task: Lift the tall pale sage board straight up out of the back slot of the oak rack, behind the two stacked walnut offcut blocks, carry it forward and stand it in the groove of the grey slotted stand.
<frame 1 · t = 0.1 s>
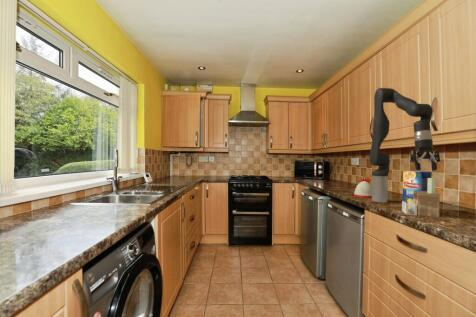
hand: (426, 170, 124), 23 cm above the countertop, tool pointing down, fingers open, 8 cm apart
oak rack: (425, 216, 119), on the countertop
grey stand: (409, 214, 122), on the countertop
sage board: (430, 214, 118), point 1 cm above the countertop, touching oak rack
beverage box: (416, 211, 130), on the countertop
kitchen timer: (364, 197, 181), on the countertop
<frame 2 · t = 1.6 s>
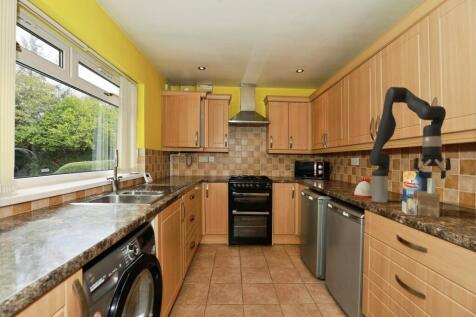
hand: (431, 178, 118), 19 cm above the countertop, tool pointing down, fingers open, 8 cm apart
nothing on the countertop moved.
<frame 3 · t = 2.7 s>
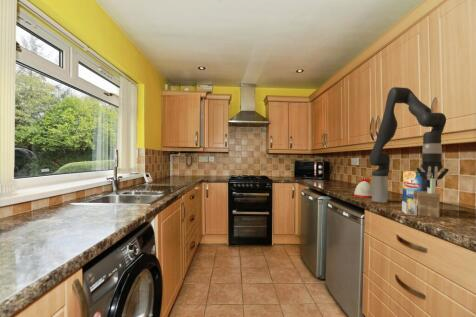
hand: (431, 187, 118), 15 cm above the countertop, tool pointing down, fingers closed on sage board, 1 cm apart
sage board: (431, 214, 118), point 1 cm above the countertop, touching gripper, oak rack
everything else where it was.
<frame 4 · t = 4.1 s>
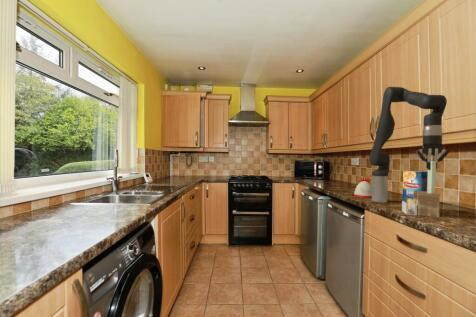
hand: (431, 169, 118), 23 cm above the countertop, tool pointing down, fingers closed on sage board, 1 cm apart
sage board: (430, 197, 118), point 10 cm above the countertop, touching gripper
everything else where it was.
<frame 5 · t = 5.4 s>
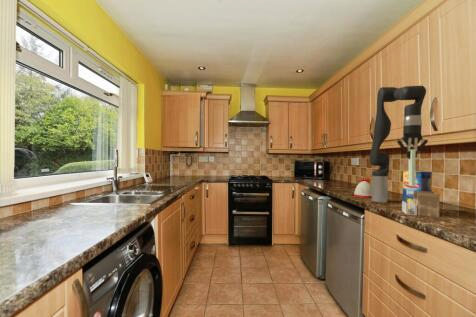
hand: (411, 158, 122), 29 cm above the countertop, tool pointing down, fingers closed on sage board, 1 cm apart
sage board: (411, 185, 120), point 15 cm above the countertop, touching gripper
everything else where it was.
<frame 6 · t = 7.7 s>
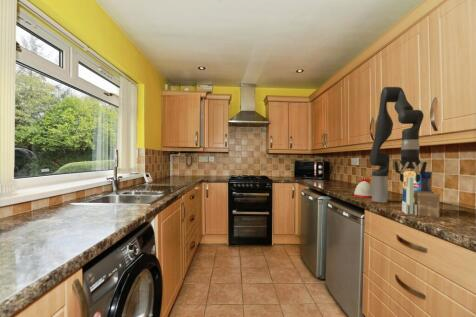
hand: (409, 181, 122), 17 cm above the countertop, tool pointing down, fingers open, 5 cm apart
sage board: (409, 213, 120), point 1 cm above the countertop, touching grey stand
everything else where it was.
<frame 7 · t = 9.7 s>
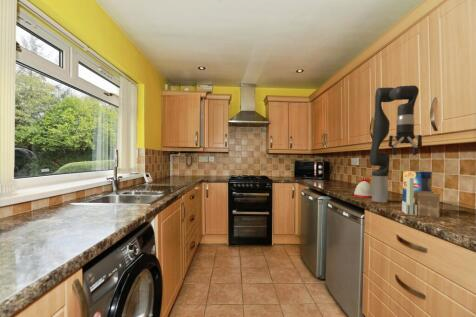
hand: (404, 155, 124), 31 cm above the countertop, tool pointing down, fingers open, 8 cm apart
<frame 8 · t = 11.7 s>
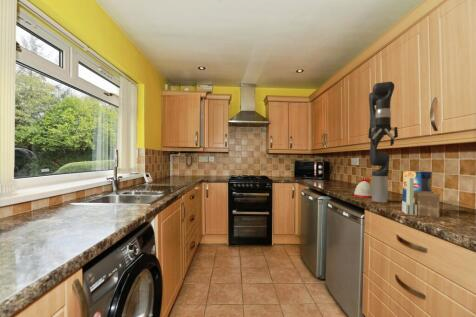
hand: (382, 145, 135), 36 cm above the countertop, tool pointing down, fingers open, 8 cm apart
nothing on the countertop moved.
at the end: sage board 1.7 cm off-centre on the grey stand, point 1.0 cm above the grey stand's base; sage board tilted 0°; the gripper is holding nothing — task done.
